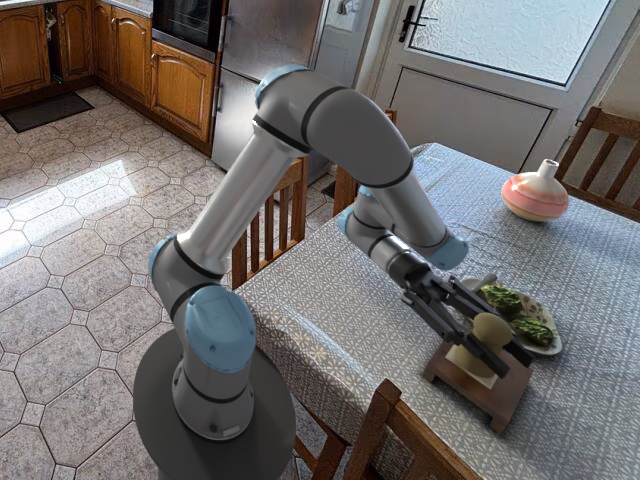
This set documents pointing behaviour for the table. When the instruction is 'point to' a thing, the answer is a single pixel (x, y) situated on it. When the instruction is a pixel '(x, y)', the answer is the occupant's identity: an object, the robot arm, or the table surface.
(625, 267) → the table surface
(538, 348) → the salad plate
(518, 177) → the vase
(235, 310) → the robot arm
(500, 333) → the cork
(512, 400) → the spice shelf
